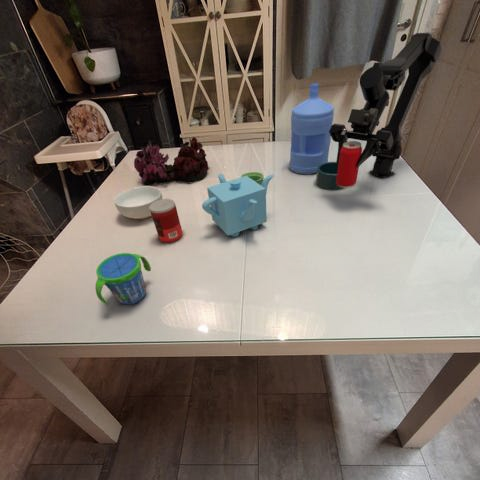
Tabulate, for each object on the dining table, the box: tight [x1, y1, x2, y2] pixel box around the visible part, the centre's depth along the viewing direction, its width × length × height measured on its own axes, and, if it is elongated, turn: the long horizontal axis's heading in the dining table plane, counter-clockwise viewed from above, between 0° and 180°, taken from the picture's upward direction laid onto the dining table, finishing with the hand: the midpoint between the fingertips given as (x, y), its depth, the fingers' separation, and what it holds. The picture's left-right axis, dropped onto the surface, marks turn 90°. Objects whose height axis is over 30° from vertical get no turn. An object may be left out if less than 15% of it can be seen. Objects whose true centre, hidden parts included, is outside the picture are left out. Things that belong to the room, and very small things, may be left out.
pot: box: [315, 161, 343, 191], centre depth 112 cm, size 12×12×6 cm
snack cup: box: [95, 252, 152, 306], centre depth 76 cm, size 16×10×10 cm
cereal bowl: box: [113, 185, 163, 220], centre depth 108 cm, size 17×17×7 cm
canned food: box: [149, 198, 183, 244], centre depth 94 cm, size 8×8×11 cm
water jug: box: [289, 82, 335, 175], centre depth 115 cm, size 16×16×28 cm
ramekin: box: [240, 171, 265, 185], centre depth 115 cm, size 9×9×4 cm
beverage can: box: [336, 140, 363, 189], centre depth 93 cm, size 6×6×12 cm
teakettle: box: [201, 173, 275, 238], centre depth 93 cm, size 19×19×15 cm
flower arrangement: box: [133, 136, 209, 186], centre depth 125 cm, size 31×20×15 cm, turn 101°
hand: (346, 164), depth 92 cm, fingers closed on beverage can, 6 cm apart
